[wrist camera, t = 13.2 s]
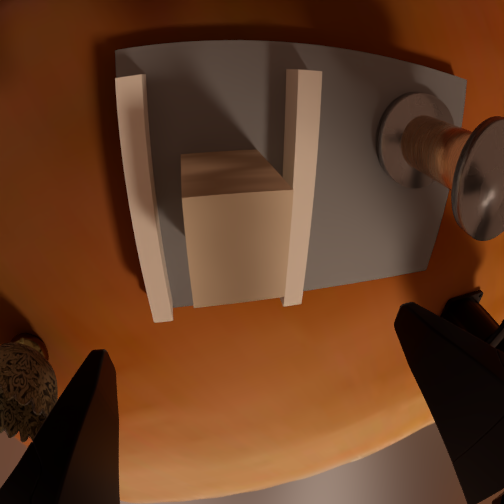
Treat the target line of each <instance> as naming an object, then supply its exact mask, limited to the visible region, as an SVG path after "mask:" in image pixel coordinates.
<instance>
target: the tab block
mask: <svg viewBox="0 0 504 504" xmlns="http://www.w3.org/2000/svg"><path fill="white" fill-rule="evenodd" d="M181 191H182V207H183V217H184V228H185V238H186V247H187V256H188V265H189V273H190V281H191V289H192V297H193V305H194V308H198V307H207V306H216V305H224V304H232V303H240V302H248V301H256V300H263V299H271V298H278V297H285V288H286V277H287V266H288V255H289V243H290V231H291V218H292V205H293V191H294V190H293V189H292V188H291V186H290V185H289V184H288V183H287V182H286V181H285V180H284V179H283V177H282V176H281V175H280V174H279V173H278V172H277V171H276V170H275V169H274V168H273V166H272V165H271V164H270V163H269V162H268V161H267V160H266V159H265V158H264V157H263V156H262V155H261V153H260V152H259V151H258V150H235V151H218V152H204V153H191V154H181Z"/></svg>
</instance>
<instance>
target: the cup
mask: <svg viewBox="0 0 504 504" xmlns="http://www.w3.org/2000/svg"><path fill="white" fill-rule="evenodd" d="M48 359H49V355H48V350H47V348H46V346H45V344H44V343H43V342H42V341H41V340H40V339H38V338H37V337H35V336H33V335H31V334H27V333H21V334H18V335H16V336H15V337H14V338H13V339H12V340H11V342H10V343H5V344H2V345H0V433H2V432H3V431H5V432H6V433H7V435H8V437H9V438H11V437H13V436H15V435H16V434H17V433H18V431H19V432H20V438H21V439H20V440H21V441H22V442H25V441H26V440H27V439H28V438H30V437H31V439H32V441H33V439H34V437H35V435H36V434H37V432H38V430H39V429H40V427H41V426H42V424H43V422H44V421H45V419H46V418H47V416H48V414H49V413H50V411H51V410H52V408H53V407H54V405H55V404H56V402H57V380H56V376H55V373H54V371H53V368H52V366H51V365H50V363H49V362H48ZM29 436H30V437H29Z"/></svg>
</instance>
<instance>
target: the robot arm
mask: <svg viewBox="0 0 504 504" xmlns="http://www.w3.org/2000/svg"><path fill="white" fill-rule="evenodd" d="M482 295H483V292H482V291H481V290H479V291H476V292H473V293H470V294H466V295H463V296H460V297H456V298H453V299H450V300H449V301H448V302H447V304H446V307H445V309H444V311H443V313H442V315H441V317H439V316H438V315H436V314H434V313H432V312H430V311H429V310H427V309H425V308H423V307H421V306H419V305H418V304H416V303H414V302H409V303H405V304H402V305H401V306H400V309H399V311H398V314H397V317H396V319H395V322H394V328H395V331H396V333H397V336H398V339H399V341H400V344H401V346H402V349H403V351H404V354H405V357H406V359H407V362H408V364H409V367H410V369H411V371H412V373H413V375H414V377H415V379H416V382H417V384H418V386H419V388H420V390H421V392H422V394H423V396H424V398H425V401H426V403H427V405H428V407H429V409H430V412H431V414H432V416H433V418H434V421H435V423H436V425H437V427H438V430H439V432H440V434H441V436H442V439H443V441H444V444H445V446H446V449H447V451H448V453H449V456H450V458H451V461H452V464H453V466H454V469H455V471H456V474H457V477H458V479H459V482H460V485H461V487H462V490H463V493H464V496H465V499H466V501H467V504H477V503H479V502H481V501H483V500H485V499H486V498H488V497H490V496H492V495H493V494H495V493H497V492H498V491H500V490H502V489H503V488H504V320H503V321H502V323H501V325H500V326H499V324H498V323H497V322H496V321H495V320H494V319H493V318H492V317H491V316H490V314H489V313H488V312H487V311H486V310H485V309H484V308H483V307H482V306H481V305H480V304H479V301H480V299H481V297H482ZM0 504H120V497H119V414H118V401H117V385H116V371H115V367H114V365H113V363H112V361H111V359H110V357H109V354H108V352H107V351H106V350H105V349H99V350H92V351H91V352H90V353H89V355H88V356H87V358H86V359H85V361H84V362H83V363H82V365H81V366H80V368H79V369H78V371H77V372H76V374H75V375H74V377H73V378H72V380H71V381H70V382H69V384H68V385H67V387H66V388H65V390H64V391H63V393H62V394H61V396H60V397H59V399H58V401H57V402H56V404H55V405H54V407H53V408H52V410H51V411H50V413H49V414H48V416H47V418H46V419H45V421H44V422H43V424H42V426H41V427H40V429H39V430H38V432H37V434H36V435H35V437H34V439H33V442H31V443H30V445H29V447H28V448H27V450H26V452H25V453H24V455H23V456H22V458H21V460H20V461H19V463H18V465H17V466H16V467H15V469H14V470H13V472H12V473H11V474H10V476H9V477H8V479H7V480H6V481H5V483H4V484H3V486H2V487H1V488H0ZM492 504H504V492H503V493H502V494H500V495H499V496H498V497H497V498H495V499H494V500H493V501H492Z"/></svg>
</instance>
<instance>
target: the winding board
mask: <svg viewBox="0 0 504 504" xmlns="http://www.w3.org/2000/svg"><path fill="white" fill-rule="evenodd" d="M115 61H116V78H115V86H116V101H117V113H118V124H119V134H120V143H121V152H122V160H123V168H124V175H125V182H126V189H127V195H128V201H129V207H130V213H131V219H132V225H133V230H134V235H135V241H136V246H137V251H138V256H139V260H140V265H141V270H142V274H143V279H144V283H145V287H146V292H147V296H148V300H149V304H150V308H151V312H152V316H153V320H154V323H155V322H165V321H173V307H183V306H192V305H193V297H192V289H191V281H190V273H189V265H188V256H187V247H186V238H185V228H184V217H183V207H182V191H181V154H191V153H204V152H218V151H235V150H258V151H259V152H260V153H261V155H262V156H263V157H264V158H265V159H266V160H267V161H268V162H269V163H270V164H271V165H272V166H273V168H274V169H275V170H276V171H277V172H278V173H279V174H280V175H281V176H282V177H283V179H284V180H285V181H286V182H287V183H288V184H289V185H290V186H291V188H292V189H293V190H294V191H293V205H292V218H291V231H290V243H289V255H288V266H287V277H286V288H285V297H280V300H281V302H282V304H283V306H291V305H297V304H301V302H302V295H303V291H306V290H313V289H320V288H326V287H332V286H339V285H345V284H351V283H357V282H363V281H369V280H374V279H380V278H386V277H391V276H397V275H402V274H408V273H413V272H418V271H424V270H426V269H427V266H428V263H429V260H430V257H431V253H432V250H433V247H434V244H435V241H436V237H437V234H438V231H439V227H440V224H441V220H442V216H443V213H444V209H445V205H446V201H447V197H448V193H449V189H448V188H446V187H445V186H443V185H442V184H440V183H438V182H437V181H434V182H433V183H431V184H430V185H428V186H425V187H422V188H416V189H413V188H407V187H404V186H402V185H400V184H399V183H397V182H396V181H394V180H393V179H391V178H390V177H389V176H388V175H387V174H386V173H385V172H384V171H383V169H382V167H381V165H380V163H379V160H378V157H377V152H376V133H377V128H378V124H379V121H380V119H381V116H382V114H383V113H384V111H385V109H386V108H387V107H388V105H389V104H390V103H391V102H392V101H393V100H394V99H396V98H397V97H399V96H400V95H402V94H405V93H408V92H422V93H426V94H430V95H433V96H435V97H437V98H438V99H440V100H441V101H442V102H443V103H444V104H445V105H446V106H447V108H448V109H449V111H450V113H451V115H452V118H453V121H454V125H455V126H458V127H461V126H462V119H463V111H464V103H465V94H466V84H467V80H465V79H462V78H459V77H457V76H454V75H451V74H448V73H445V72H441V71H438V70H435V69H432V68H428V67H425V66H421V65H418V64H414V63H410V62H406V61H402V60H398V59H394V58H390V57H385V56H380V55H376V54H371V53H366V52H360V51H354V50H349V49H342V48H336V47H328V46H321V45H312V44H302V43H291V42H277V41H255V40H212V41H190V42H176V43H165V44H155V45H147V46H139V47H132V48H126V49H119V50H115Z"/></svg>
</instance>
